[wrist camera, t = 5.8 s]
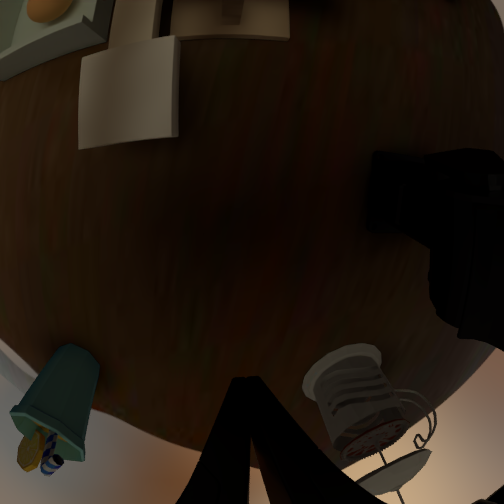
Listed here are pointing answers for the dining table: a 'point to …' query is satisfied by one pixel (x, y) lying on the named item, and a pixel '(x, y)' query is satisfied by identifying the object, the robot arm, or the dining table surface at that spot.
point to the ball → (46, 9)
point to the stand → (230, 19)
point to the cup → (57, 410)
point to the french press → (365, 414)
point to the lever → (130, 80)
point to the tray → (48, 33)
